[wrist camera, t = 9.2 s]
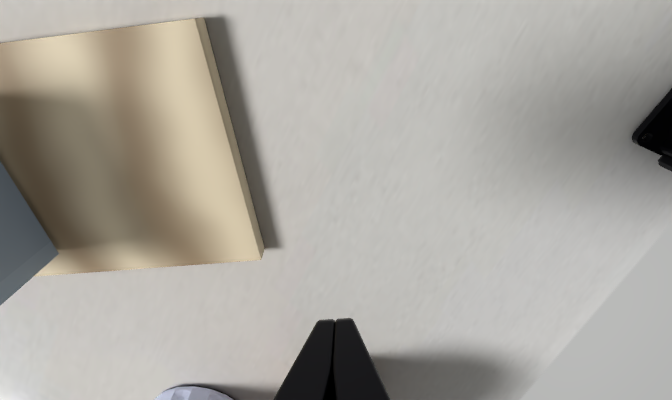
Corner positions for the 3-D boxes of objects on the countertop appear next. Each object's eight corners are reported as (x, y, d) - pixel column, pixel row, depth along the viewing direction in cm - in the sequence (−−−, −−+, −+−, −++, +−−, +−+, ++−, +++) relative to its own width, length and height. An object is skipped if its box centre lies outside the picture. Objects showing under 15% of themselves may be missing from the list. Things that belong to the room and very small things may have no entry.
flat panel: (204, 17, 17) (151, 22, 12) (264, 248, 24) (245, 306, 19) (-198, 68, 18) (-375, 89, 14) (-32, 270, 25) (-114, 329, 21)
